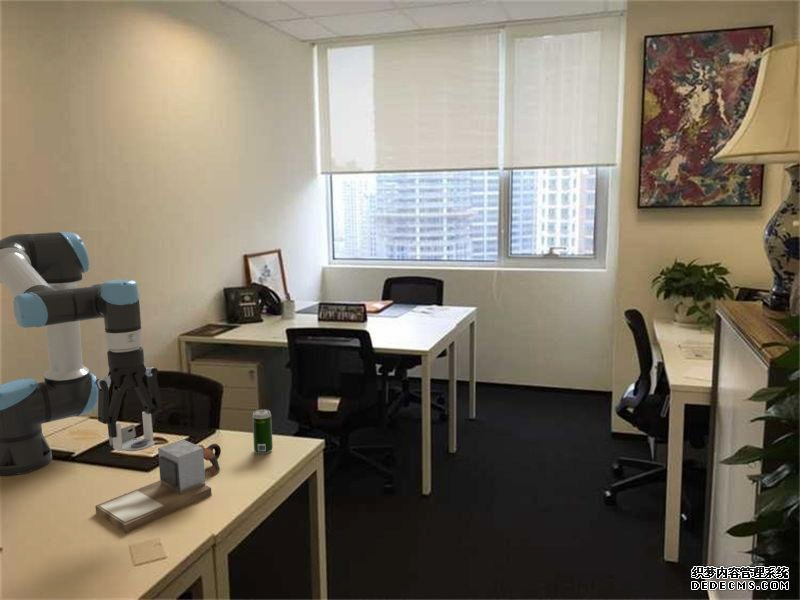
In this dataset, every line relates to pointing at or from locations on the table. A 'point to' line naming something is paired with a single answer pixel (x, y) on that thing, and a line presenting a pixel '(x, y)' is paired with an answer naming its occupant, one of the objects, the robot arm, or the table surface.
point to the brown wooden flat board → (147, 505)
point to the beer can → (262, 431)
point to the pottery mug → (212, 457)
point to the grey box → (181, 466)
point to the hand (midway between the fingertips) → (133, 444)
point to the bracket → (132, 440)
